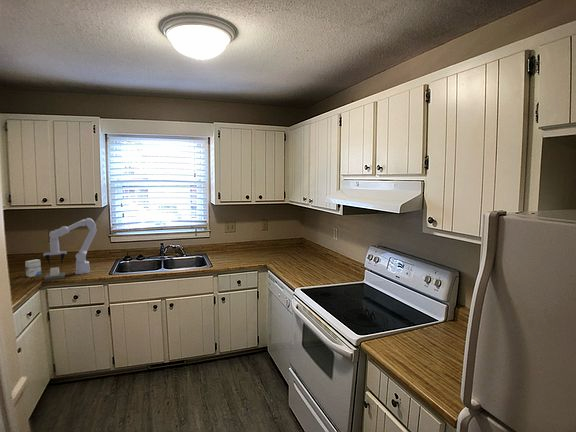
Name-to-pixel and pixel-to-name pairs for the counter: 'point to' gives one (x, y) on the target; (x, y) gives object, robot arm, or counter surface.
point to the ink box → (33, 267)
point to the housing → (54, 271)
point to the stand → (61, 275)
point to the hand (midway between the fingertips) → (55, 264)
